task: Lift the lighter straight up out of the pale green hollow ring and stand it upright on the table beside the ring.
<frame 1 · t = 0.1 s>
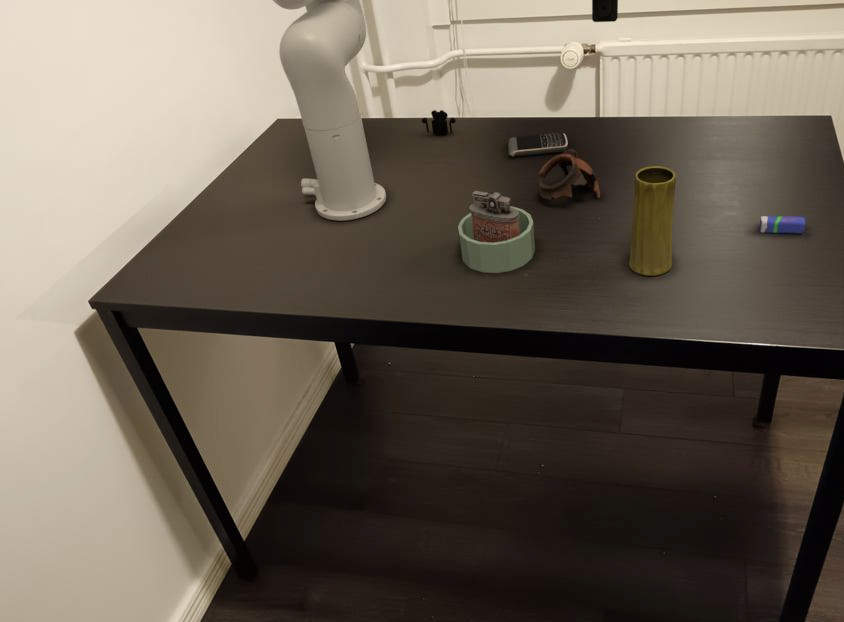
hand: (609, 9, 101), 31 cm above the table, tool pointing down, fingers open, 9 cm apart
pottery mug: (570, 195, 128), on the table
wireless earbuds: (441, 134, 152), on the table
vase: (650, 266, 109), on the table
eraser: (780, 232, 112), on the table
cell phone: (537, 149, 142), on the table
lighter: (498, 253, 116), resting in pale green hollow ring
pale green hollow ring: (498, 252, 116), on the table
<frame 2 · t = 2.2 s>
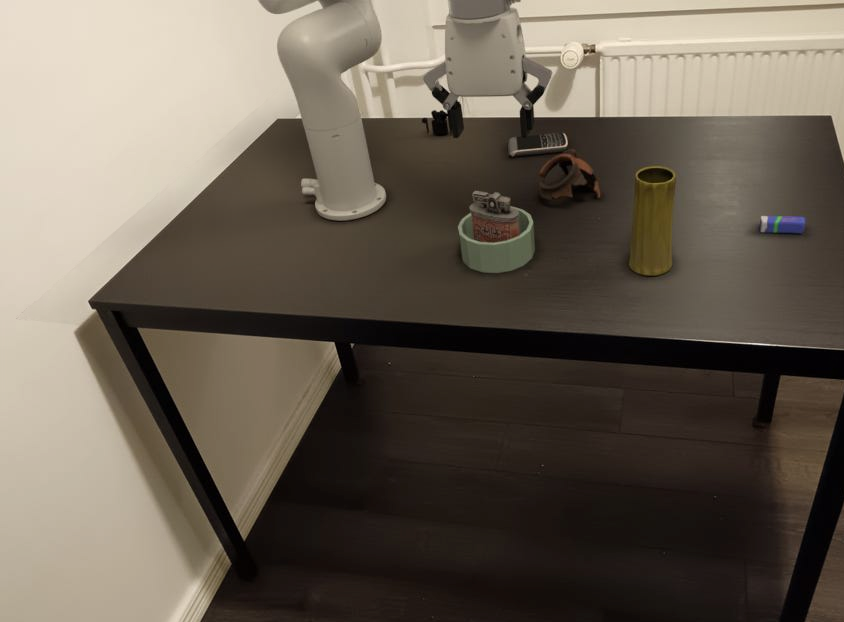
hand: (492, 134, 104), 19 cm above the table, tool pointing down, fingers open, 9 cm apart
nothing on the table moved.
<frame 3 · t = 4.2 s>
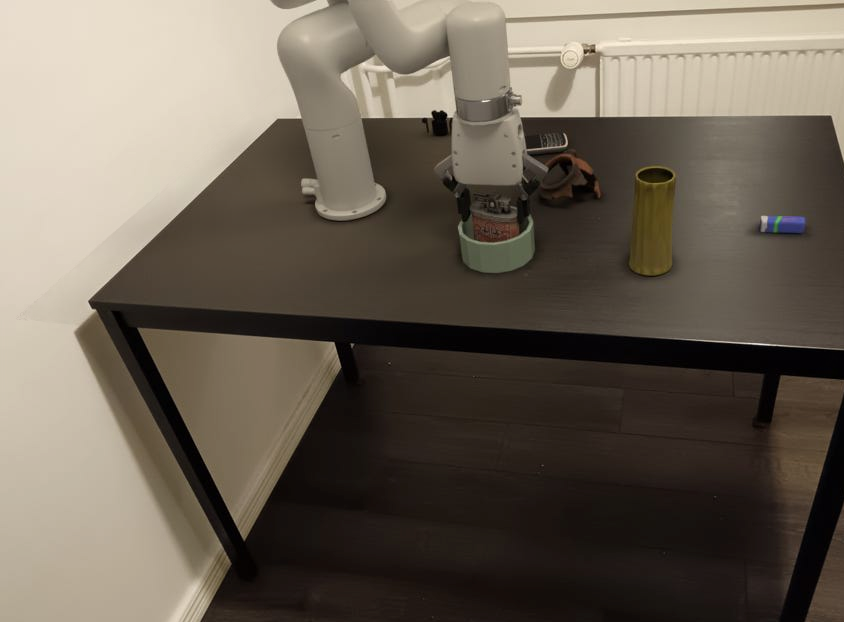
hand: (494, 218, 112), 6 cm above the table, tool pointing down, fingers closed on lighter, 8 cm apart
lighter: (498, 253, 116), resting in pale green hollow ring, touching gripper
everything else where it was.
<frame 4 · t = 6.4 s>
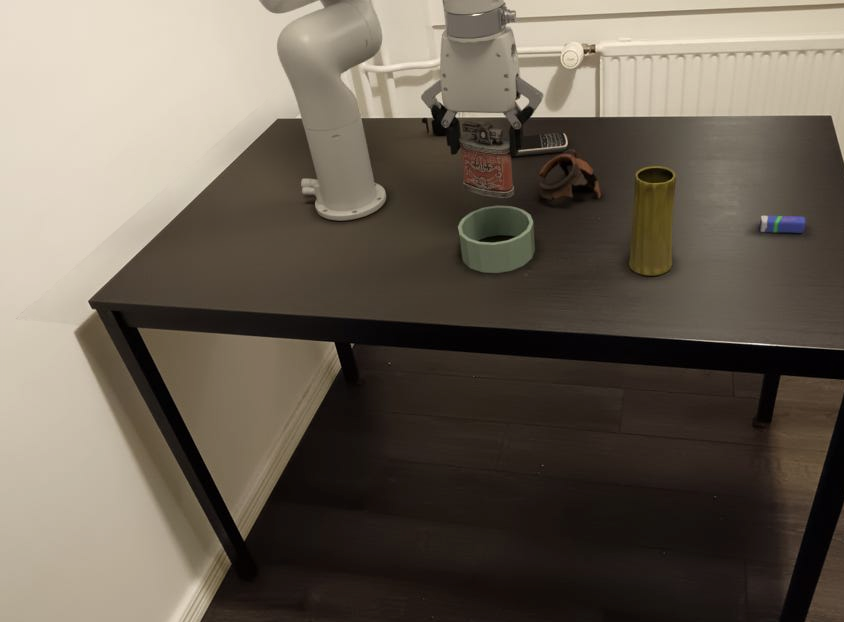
hand: (485, 150, 106), 17 cm above the table, tool pointing down, fingers closed on lighter, 8 cm apart
lighter: (488, 190, 110), point 10 cm above the table, touching gripper
everything else where it was.
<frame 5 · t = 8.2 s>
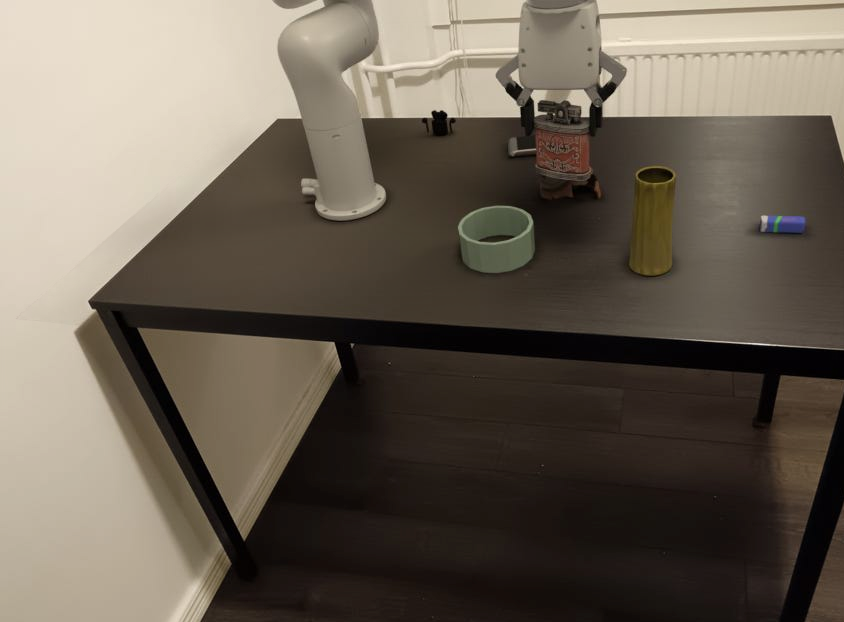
hand: (561, 131, 101), 20 cm above the table, tool pointing down, fingers closed on lighter, 8 cm apart
lighter: (562, 174, 105), point 13 cm above the table, touching gripper
everything else where it was.
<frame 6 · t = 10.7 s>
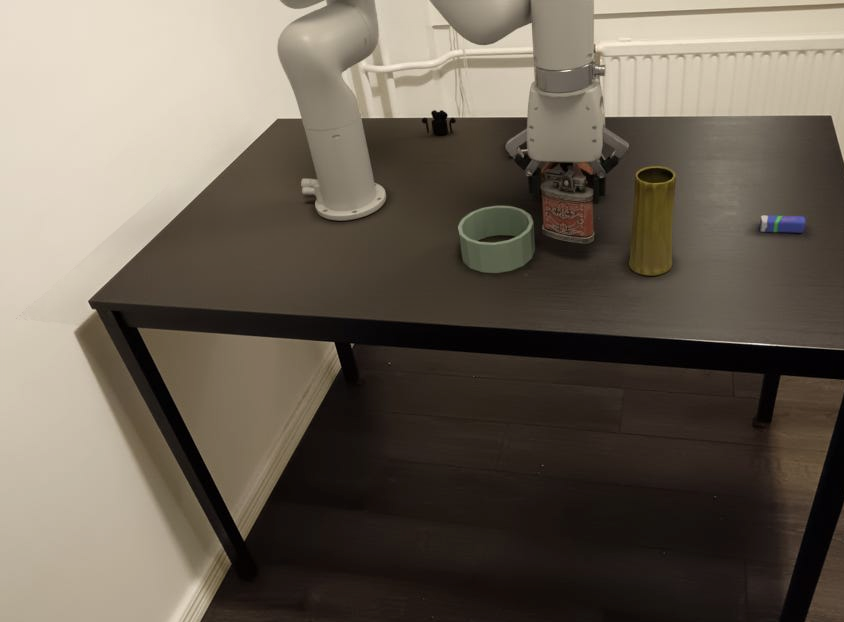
hand: (567, 197, 107), 10 cm above the table, tool pointing down, fingers closed on lighter, 8 cm apart
lighter: (568, 235, 111), point 4 cm above the table, touching gripper
everything else where it was.
when the fingers open (6 cm above the table, at t = 12.4 s): lighter stays where it is, on the table.
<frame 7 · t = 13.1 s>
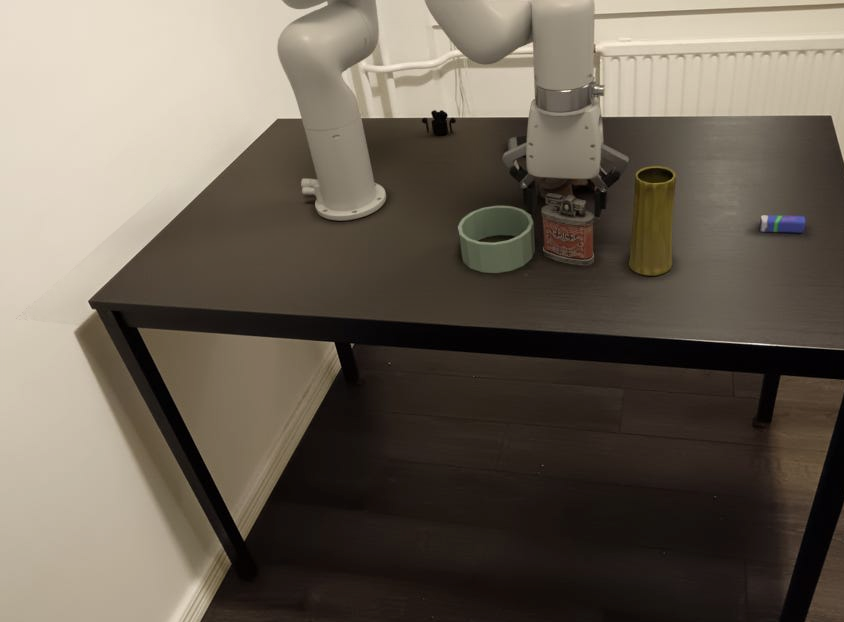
hand: (564, 210, 109), 8 cm above the table, tool pointing down, fingers open, 9 cm apart
lighter: (568, 257, 113), on the table
everything else where it was.
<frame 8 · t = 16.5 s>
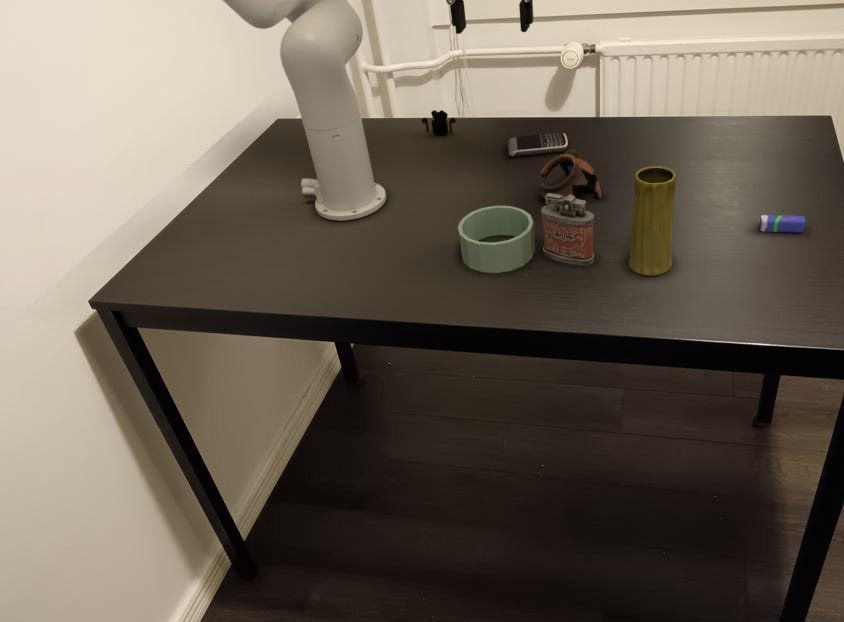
hand: (493, 30, 109), 28 cm above the table, tool pointing down, fingers open, 9 cm apart
nothing on the table moved.
at the end: lighter inside the target area (0.4 cm from its centre), on the table; lighter tilted 0°; lighter touching table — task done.
